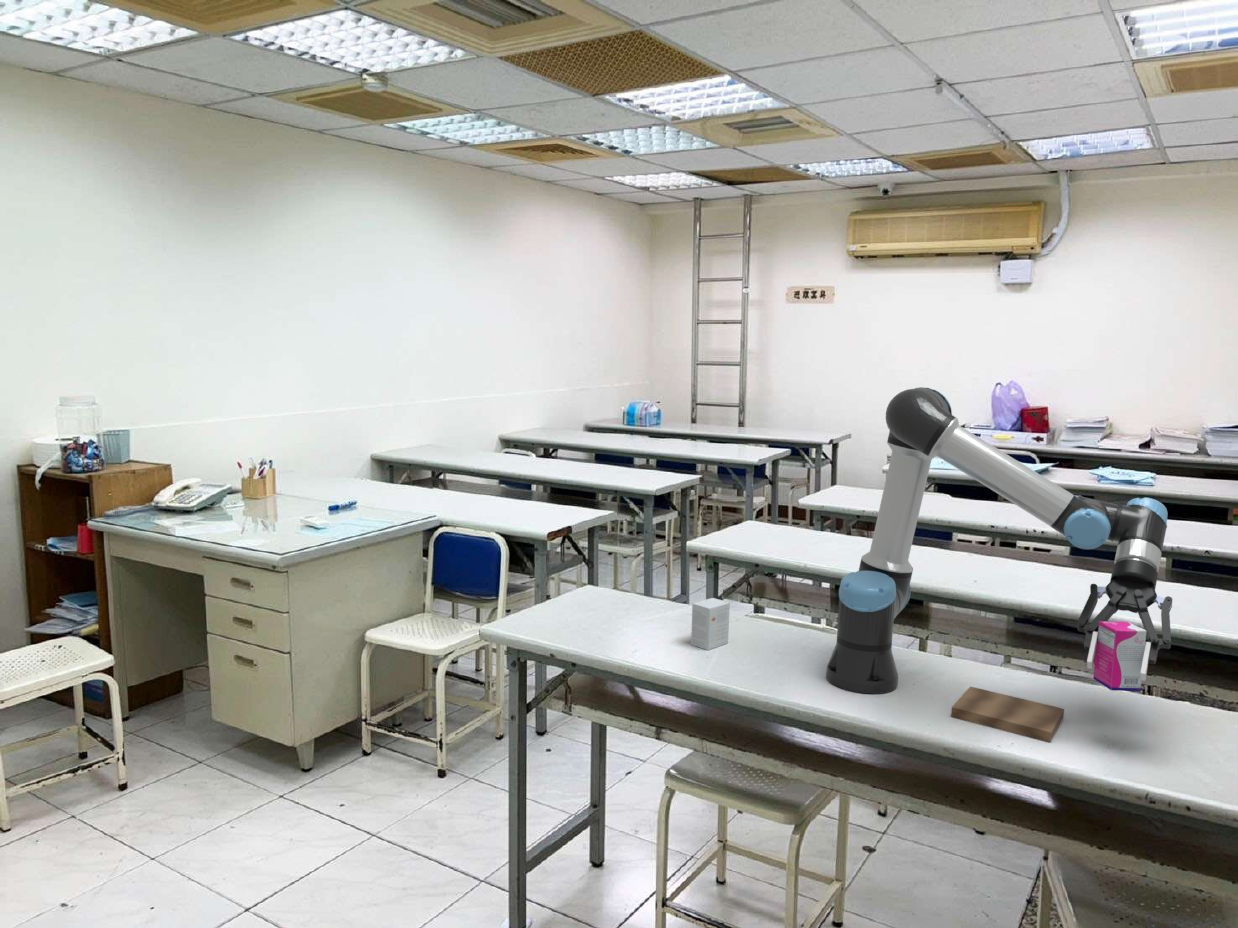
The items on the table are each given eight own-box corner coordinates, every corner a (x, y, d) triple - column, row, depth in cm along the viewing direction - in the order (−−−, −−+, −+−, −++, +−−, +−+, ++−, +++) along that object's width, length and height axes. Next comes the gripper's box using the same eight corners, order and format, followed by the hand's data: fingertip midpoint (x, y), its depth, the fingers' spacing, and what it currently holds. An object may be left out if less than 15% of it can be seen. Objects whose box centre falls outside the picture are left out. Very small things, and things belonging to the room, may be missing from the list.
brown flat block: (950, 716, 171) (951, 707, 171) (969, 695, 182) (970, 686, 182) (1050, 742, 161) (1051, 732, 160) (1063, 718, 172) (1064, 708, 172)
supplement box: (1121, 679, 163) (1128, 620, 161) (1141, 691, 157) (1148, 631, 155) (1091, 678, 162) (1098, 619, 161) (1110, 690, 157) (1117, 630, 155)
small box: (711, 637, 215) (712, 597, 214) (728, 643, 211) (730, 602, 210) (690, 644, 210) (691, 603, 208) (707, 650, 206) (709, 608, 204)
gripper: (1198, 589, 164) (1182, 695, 153) (1077, 569, 176) (1054, 667, 165) (1200, 567, 159) (1184, 675, 148) (1075, 548, 171) (1052, 647, 160)
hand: (1115, 670), depth 156 cm, fingers closed on supplement box, 8 cm apart
